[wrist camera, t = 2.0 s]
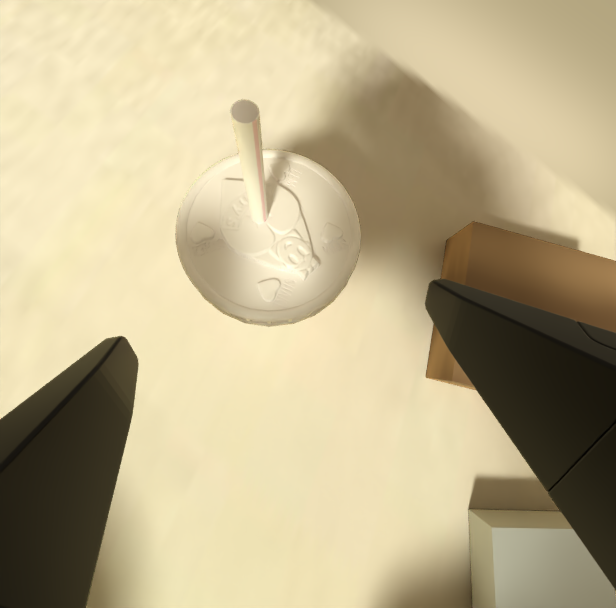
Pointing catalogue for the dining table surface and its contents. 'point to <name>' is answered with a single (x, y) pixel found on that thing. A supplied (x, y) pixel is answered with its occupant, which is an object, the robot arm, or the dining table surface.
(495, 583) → the grey tile
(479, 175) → the dining table surface
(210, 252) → the smoothie
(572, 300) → the walnut block
